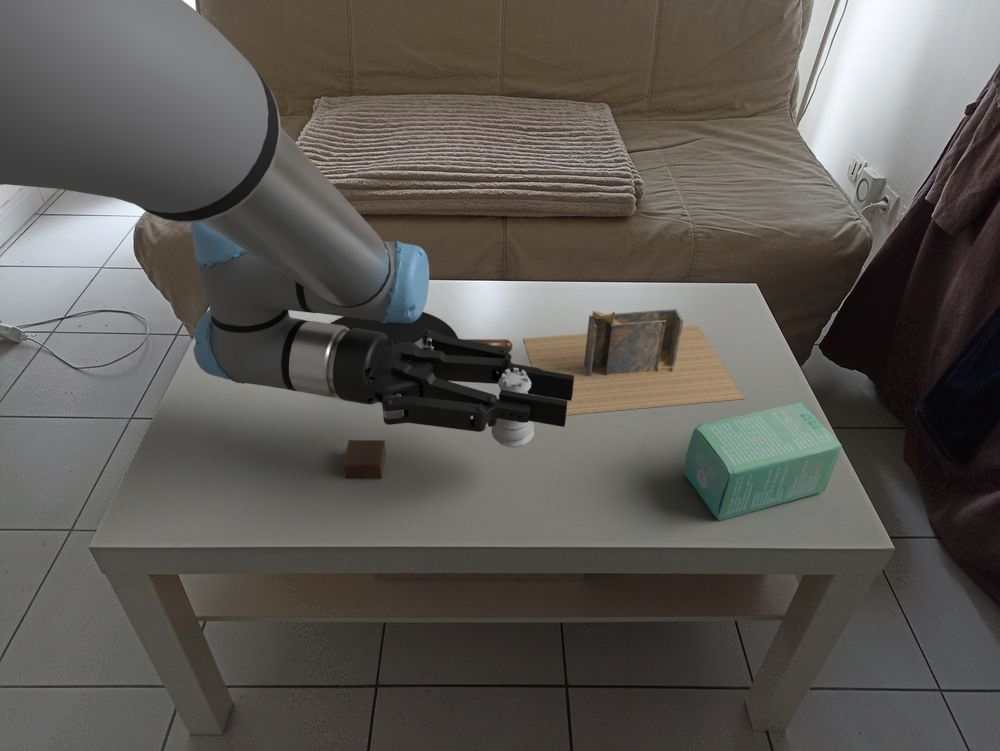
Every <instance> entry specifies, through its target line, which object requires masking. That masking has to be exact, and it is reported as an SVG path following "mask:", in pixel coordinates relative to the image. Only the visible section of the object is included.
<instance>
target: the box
mask: <svg viewBox="0 0 1000 751" xmlns="http://www.w3.org/2000/svg"><path fill="white" fill-rule="evenodd" d="M842 447H843V445H842V443H841V442H840V441H839V440H838V439H837V438H836V437H835V436H834V435H833V434H832V433H831V432H830V431H829V430H828V429H827V427H826V426H825V425H824V424H822V422H821V421H820V420H819V419H818V418H817V417H816V416H815V415H814V414H813V413H812V412H811V411H810V409H809V408H807V406H806V405H805V404H804V403H803V402H797V403H793V404H788V405H781V406H778V407H772V408H768V409H765V410H760V411H755V412H749V413H746V414H741V415H738V416H731V417H728V418H724V419H719V420H715V421H711V422H707V423H703V424H698V425H697V426H696V427H695V428H694V429H693V431H692V433H691V437H690V441H689V443H688V447H687V450H686V452H685V460H684V461H685V462H684V471H683V474H684V476H685V477H686V478H687V479H688V481H689V483H690V484H691V485H692V487H693V488H694V490H696V492H697V493H698V495H699V496H700V497H701V499H702V500H703V502H704V503H705V505H706V506H707V507H708V509H709V511H710V512H711V514H713V516H714V517H715V518H716V519H717V520H718V521H724V520H728V519H731V518H736V517H740V516H743V515H746V514H749V513H750V514H751V513H753V512H757V511H761V510H764V509H768V508H771V507H775V506H778V505H781V504H786V503H788V502H791V501H794V500H799V499H801V498H805V497H809V496H814V495H817V494H821V493H823V492H825V491H826V488H827V485H828V483H829V481H830V478H831V475H832V472H833V469H834V467H835V464H836V461H837V459H838V456H839V455H840V452H841V450H842Z"/></svg>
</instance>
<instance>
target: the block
mask: <svg viewBox="0 0 1000 751" xmlns="http://www.w3.org/2000/svg"><path fill="white" fill-rule="evenodd" d="M346 446H347V447H346V451H345V456H344V460H343V463H342V468H343V475H344V479H373V480H374V479H377V480H378V479H380V480H381V479H383V473H384V468H385V461H386V457H387V449H386V448H387V447H386V440H382V439H381V440H380V439H379V440H376V439H375V440H373V439H371V440H370V439H349V440H348V441H347V445H346Z"/></svg>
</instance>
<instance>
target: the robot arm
mask: <svg viewBox="0 0 1000 751" xmlns="http://www.w3.org/2000/svg"><path fill="white" fill-rule="evenodd" d="M278 107H279V106H278V103H277V101H276V98H275V96H274V94H273V92H272V90H271V88H270V87H269V85H268V84H267V83H266V81H265V80H264V78H263V77H262V76H261V74H259V73H258V71H257V70H256V69H255V68H254V67H253V65H252V64H251V63H250V61H249V60H248V59H247V58H246V57H245V56H244V55H243V54H242V53H241V52H240V51H239V50H238V49H237V48H236V47H235V46H234V45H233V44H232V43H231V42H230V41H229V40H228V39H227V38H226V37H225V36H224V35H223V34H222V32H221V31H219V30H218V29H217V27H215V26H214V25H213V24H212V23H211V22H210V21H209V20H208V19H206V18H205V17H203V15H201V14H200V13H199V12H198V11H197V10H196V9H195V8H193V7H192V6H191V5H190V4H188V3H187V2H186V1H184V0H0V186H2V185H4V186H5V185H7V186H8V185H9V186H19V187H31V188H44V189H54V190H55V189H56V190H64V191H70V192H76V193H82V194H87V195H88V194H89V195H93V196H101V197H107V198H110V199H111V198H112V199H117V200H120V201H124V202H126V203H130V204H132V205H135V206H137V207H138V208H140V209H142V210H143V211H145V212H146V213H149V214H151V215H152V216H155V217H158V218H160V219H162V220H165V221H169V222H173V223H183V224H191V225H190V232H191V238H192V244H193V248H194V254H195V259H194V260H195V263H196V266H197V267H198V271H199V275H200V278H201V283H202V286H203V289H204V294H205V296H206V300H207V304H208V307H209V310H207V311H206V312H204V314H202V315H201V317H200V318H199V321H198V322H197V324H196V327H195V330H194V333H193V339H194V340H195V344H194V346H193V355H194V359H195V361H196V364H197V365H198V366H199V368H200V369H201V370H202V371H203V372H204V373H206V374H208V375H210V376H213V377H216V378H221V379H225V380H229V381H231V382H234V383H237V384H243V385H244V384H249V385H256V386H263V387H269V388H276V389H281V390H289V391H292V392H297V393H298V392H299V393H305V394H310V395H314V396H321V397H327V398H332V399H333V398H337V397H338V398H339V399H340V400H342V401H346V402H352V403H358V404H363V405H364V404H365V405H374V404H376V403H380V404H381V408H382V417H383V423H384V424H385V425H387V426H388V425H389V426H390V425H391V426H392V425H401V424H402V425H403V424H414V425H422V426H429V427H436V428H438V427H439V428H445V429H453V430H462V431H469V432H477V433H482V432H483V431H485V430H486V427H488V428H489V427H490V428H492V427H493V426H495V425H496V423H497V418H498V419H504V420H510V421H517V422H521V423H525V422H528V421H532V422H534V423H537V424H545V425H550V426H556V427H561V428H565V425H566V422H567V415H566V412H567V402H568V401H571V400H572V395H573V385H574V375H569V374H562V373H556V372H550V371H544V370H542V369H540V368H536V367H532V366H529V365H523V364H517V363H513V361H512V355H511V353H510V352H509V350H508V349H507V348H503V347H498V346H493V345H488V344H483V343H478V342H473V341H468V340H464V339H465V338H464V339H463V338H459V337H458V338H454V337H449V336H444V335H441V334H439V333H437V332H435V331H433V330H431V329H425V330H423V331H422V339H420V340H419V341H417V342H415V343H411V342H404V343H394V342H392V341H391V340H390V339H389V338H388V337H387V336H386V335H385V334H384V333H382V332H377V331H371V330H364V329H358V328H352V329H351V330H349V328H347V327H346V326H343V325H335V324H330V323H327V322H321V321H315V320H314V321H313V320H306V319H301V318H295V317H291V316H290V311H292V312H299V313H300V312H301V313H311V314H322V315H329V316H337V317H351V318H359V319H367V320H374V321H381V323H387V322H395V323H412V322H414V321H416V320H417V319H418V318H419V317H420V316H421V314H422V312H424V310H425V307H426V303H427V299H428V294H429V285H430V264H429V263H430V262H429V259H428V255H427V253H426V251H425V250H424V249H423V248H422V247H421V246H419V245H415V244H410V243H405V242H404V243H403V242H401V241H400V240H395V241H385V240H384V239H382V237H380V235H379V234H378V233H377V232H376V230H374V229H373V227H372V226H371V225H370V223H368V221H366V219H365V218H364V217H363V216H362V215H361V214H360V213H359V212H358V211H357V209H356V208H355V207H354V206H353V205H352V204H351V203H350V202H349V201H348V200H347V199H346V198H345V196H344V195H343V194H342V193H341V192H340V191H339V190H338V188H337V187H336V186H335V185H334V184H333V183H332V182H331V181H330V180H329V179H328V177H326V175H325V174H324V173H323V172H322V171H321V170H320V169H319V167H318V166H317V165H316V164H315V162H313V161H312V159H310V157H309V156H308V155H307V154H306V153H305V151H304V150H302V149H301V147H300V146H299V145H298V144H297V143H296V142H295V141H294V139H292V138H291V136H289V134H288V133H287V132H286V131H285V129H283V128H282V125H281V115H280V111H279V108H278ZM435 364H436V373H435ZM514 368H519V371H518V372H521V371H522V370H524V371H525V372H526V376H528V378H529V379H530V381H531V388H530V389H529V390H528V391H527V392H528V394H525V393H519V392H513V391H507V390H501V389H500V391H499V394H498V396H497V395H496V394H494V393H490V392H487V391H483V390H480V389H476V388H474V387H470V386H467V385H463V384H459V383H478V384H491V385H498V382H499V379H500V378H501V377H502V374H505V370H507V369H510V372H513V371H514ZM455 382H459V383H455ZM542 396H544V397H542ZM548 397H550V398H548ZM554 398H556V399H554ZM560 399H562V400H560ZM566 400H568V401H566ZM377 401H379V402H377Z"/></svg>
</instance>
